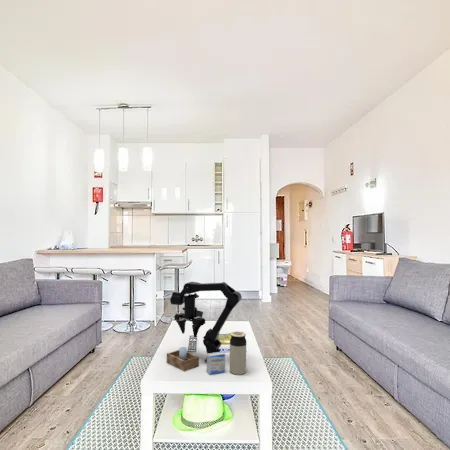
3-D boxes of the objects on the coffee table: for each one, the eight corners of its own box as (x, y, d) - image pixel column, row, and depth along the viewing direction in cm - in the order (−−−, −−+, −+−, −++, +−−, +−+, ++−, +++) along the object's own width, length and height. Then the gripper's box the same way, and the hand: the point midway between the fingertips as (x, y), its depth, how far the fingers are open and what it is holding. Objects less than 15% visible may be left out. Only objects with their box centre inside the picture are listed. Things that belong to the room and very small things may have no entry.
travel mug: (231, 375, 146) (232, 336, 147) (227, 368, 154) (228, 331, 154) (248, 374, 148) (248, 335, 148) (243, 367, 155) (243, 330, 156)
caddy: (198, 366, 156) (199, 356, 156) (184, 371, 150) (184, 361, 150) (180, 357, 166) (181, 349, 167) (166, 362, 160) (166, 353, 160)
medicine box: (209, 375, 146) (210, 356, 147) (206, 371, 150) (206, 353, 151) (225, 372, 149) (225, 354, 150) (221, 368, 153) (221, 350, 154)
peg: (187, 364, 158) (187, 348, 158) (181, 366, 156) (182, 350, 156) (183, 362, 161) (183, 346, 161) (177, 364, 158) (177, 348, 158)
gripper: (212, 306, 168) (212, 335, 167) (189, 301, 180) (188, 328, 179) (197, 309, 159) (197, 340, 159) (173, 304, 171) (173, 332, 171)
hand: (189, 335), depth 167 cm, fingers open, 9 cm apart
